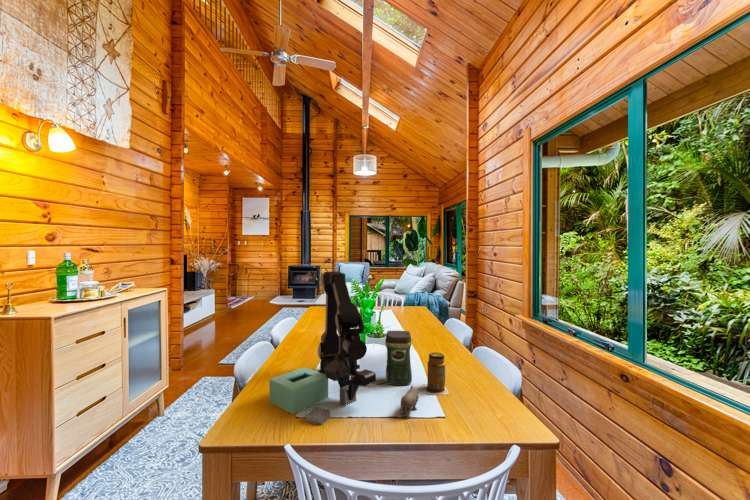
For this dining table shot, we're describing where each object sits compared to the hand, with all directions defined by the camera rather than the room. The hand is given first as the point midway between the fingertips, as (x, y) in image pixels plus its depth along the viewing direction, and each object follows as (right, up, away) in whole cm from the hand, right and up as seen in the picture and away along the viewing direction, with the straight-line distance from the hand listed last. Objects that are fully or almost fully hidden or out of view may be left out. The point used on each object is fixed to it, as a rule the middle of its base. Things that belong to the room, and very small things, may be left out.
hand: (348, 398), depth 111 cm
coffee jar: (+17, -1, +17) cm, 24 cm away
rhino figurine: (+20, -2, -4) cm, 20 cm away
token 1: (-8, -2, -11) cm, 13 cm away
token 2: (0, -1, 0) cm, 1 cm away
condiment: (+30, -1, +10) cm, 31 cm away
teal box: (-16, -1, +2) cm, 16 cm away
